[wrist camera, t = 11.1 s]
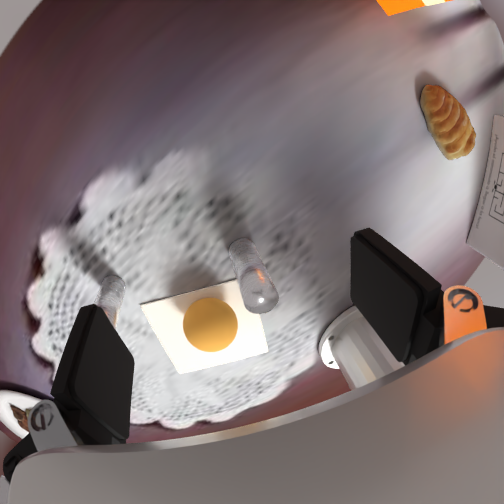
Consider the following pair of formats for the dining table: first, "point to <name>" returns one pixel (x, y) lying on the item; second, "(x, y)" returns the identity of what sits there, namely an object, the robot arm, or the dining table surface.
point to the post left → (111, 297)
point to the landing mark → (182, 351)
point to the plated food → (16, 411)
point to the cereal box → (491, 202)
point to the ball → (210, 324)
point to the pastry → (447, 122)
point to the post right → (252, 277)
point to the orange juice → (405, 5)
